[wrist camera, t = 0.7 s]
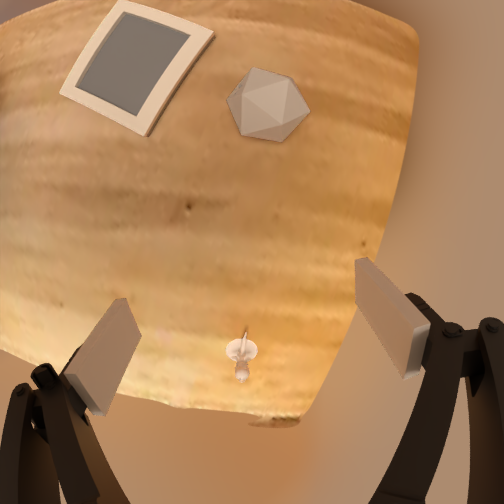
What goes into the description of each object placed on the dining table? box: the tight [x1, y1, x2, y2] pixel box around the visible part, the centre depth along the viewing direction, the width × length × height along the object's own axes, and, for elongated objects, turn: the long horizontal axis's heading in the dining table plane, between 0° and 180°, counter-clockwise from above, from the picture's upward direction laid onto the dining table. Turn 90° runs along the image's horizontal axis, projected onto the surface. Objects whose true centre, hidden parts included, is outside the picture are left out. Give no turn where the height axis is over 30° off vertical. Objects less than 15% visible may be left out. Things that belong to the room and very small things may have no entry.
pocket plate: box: [59, 0, 215, 137], centre depth 28 cm, size 16×16×2 cm
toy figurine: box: [226, 332, 258, 382], centre depth 41 cm, size 5×8×7 cm, turn 172°
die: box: [226, 67, 311, 142], centre depth 29 cm, size 8×9×10 cm
